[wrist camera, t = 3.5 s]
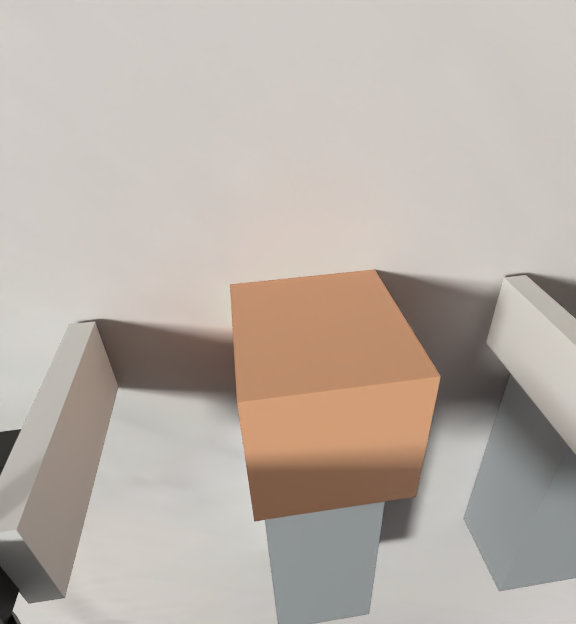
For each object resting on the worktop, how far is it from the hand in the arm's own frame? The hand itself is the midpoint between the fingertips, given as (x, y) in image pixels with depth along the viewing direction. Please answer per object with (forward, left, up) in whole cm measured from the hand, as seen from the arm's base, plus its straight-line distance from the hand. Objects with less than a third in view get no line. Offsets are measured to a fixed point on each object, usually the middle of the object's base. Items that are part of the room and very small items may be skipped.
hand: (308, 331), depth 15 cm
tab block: (0, 0, 0) cm, 0 cm away
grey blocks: (-8, -5, 0) cm, 10 cm away
